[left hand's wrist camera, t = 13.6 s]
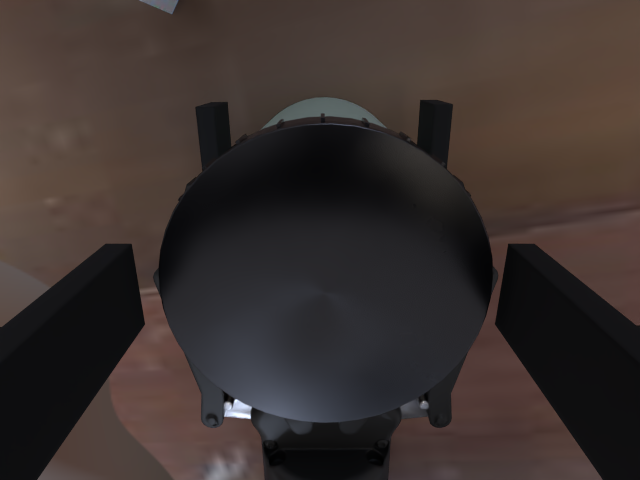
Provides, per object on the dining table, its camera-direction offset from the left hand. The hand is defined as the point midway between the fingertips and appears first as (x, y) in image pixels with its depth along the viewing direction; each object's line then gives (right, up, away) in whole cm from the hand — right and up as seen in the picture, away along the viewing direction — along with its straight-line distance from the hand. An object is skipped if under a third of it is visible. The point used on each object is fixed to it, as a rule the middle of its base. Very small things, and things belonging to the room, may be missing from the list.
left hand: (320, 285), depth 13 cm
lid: (0, 0, 0) cm, 0 cm away
